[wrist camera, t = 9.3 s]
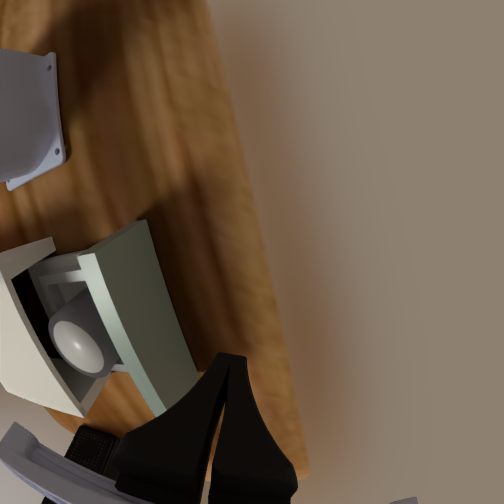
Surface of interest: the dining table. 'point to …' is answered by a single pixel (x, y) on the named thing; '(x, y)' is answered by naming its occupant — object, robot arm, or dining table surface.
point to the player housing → (36, 346)
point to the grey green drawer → (126, 309)
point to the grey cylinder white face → (83, 337)
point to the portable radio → (92, 453)
